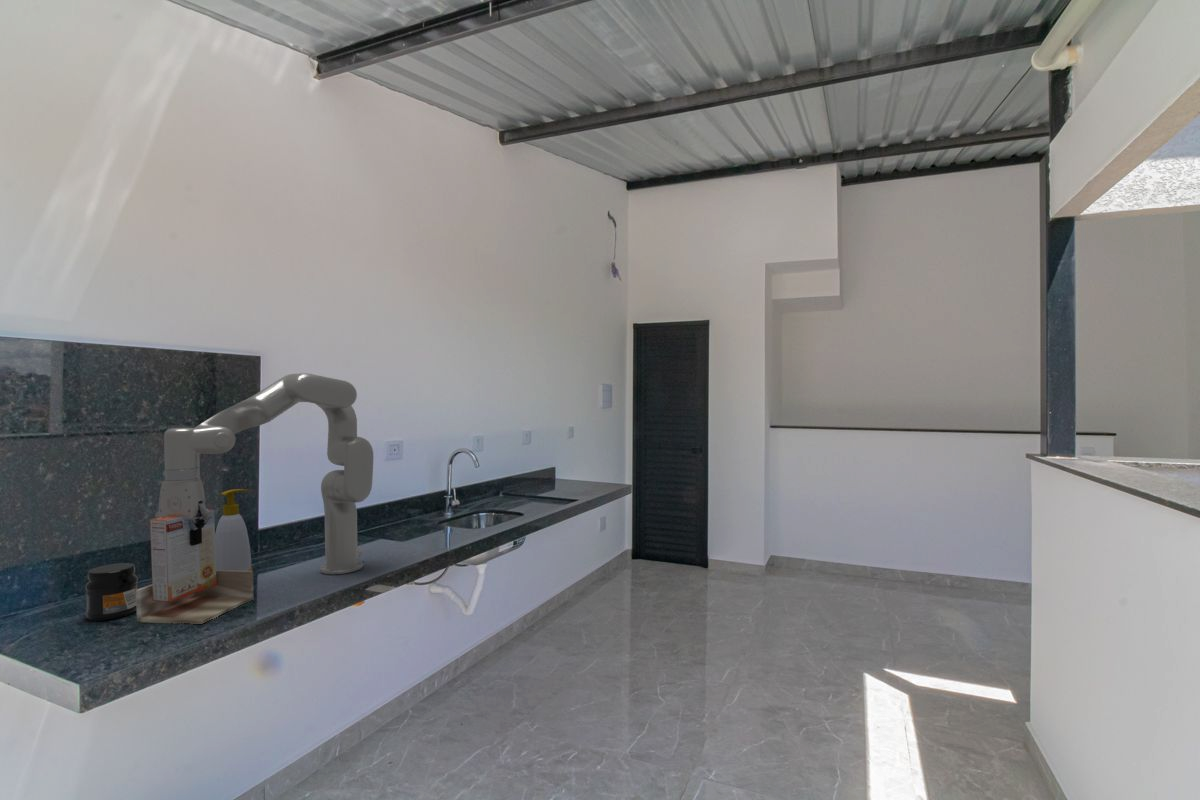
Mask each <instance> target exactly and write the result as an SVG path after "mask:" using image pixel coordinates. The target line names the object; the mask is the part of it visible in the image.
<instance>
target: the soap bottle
mask: <svg viewBox="0 0 1200 800" xmlns="http://www.w3.org/2000/svg"><path fill="white" fill-rule="evenodd" d="M238 492H246V493H249V494H252V492H253V491H251V490H249V489H243V488H237V489H236V488H235V489H228V490H225V491H223V492H220V495H221V496H223V497H226V504H223V505H222V516H220V518H219V521H218V523H217V526H216V528H215V549H216V570H243V571H254V569H253V567H252V557H251V556H252V555H251V554H252V553H251V544H250V538H249V533H248V529H247V525H246V522H245V521H244V517H243V516H242V515H241V514H240V508H239V506H240V504H239V503H235V493H238Z"/></svg>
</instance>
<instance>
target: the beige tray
mask: <svg viewBox="0 0 1200 800" xmlns="http://www.w3.org/2000/svg"><path fill="white" fill-rule="evenodd" d="M216 582H217V585H216V586H213V587H210V588H208V589H205V590H202V591H199V592H196V593H194V594H191V595H188V596H186V597H183V598H180V599H177V600H175V601H172V602H162V601H153V589H152V584H148V585H146V586H142V587H140V588H137V590H136V604H137V610H136V622H137V623H150V624H151V623H153V624H171V623H173V624H175V625H185V624H184V623H190V624H189V625H193V624H203V623H205V622H207V621H209V620H211V619H213V620H215V619H217V618H219V617H218V616H219V615H221V614H223V613H225V612H227V611H229V610H231V609H233V608H236V607H238V606H240V605H242V604H244V603H246V602H248V603H250V602H249V601H251V600H253V599H254V570H252V571H243V570H216ZM253 601H254V600H253ZM251 602H252V601H251ZM246 604H247V603H246ZM244 605H245V604H244ZM242 606H243V605H242ZM240 607H241V606H240ZM238 608H239V607H238ZM236 609H237V608H236ZM216 617H217V618H216ZM214 618H215V619H214ZM211 621H212V620H211ZM209 622H210V621H209ZM177 623H178V624H177ZM179 623H180V624H179ZM181 623H183V624H181ZM207 623H208V622H207ZM205 624H206V623H205ZM203 625H204V624H203Z"/></svg>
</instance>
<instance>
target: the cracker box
mask: <svg viewBox="0 0 1200 800" xmlns="http://www.w3.org/2000/svg"><path fill="white" fill-rule="evenodd" d="M208 510H209V511H210V512H211V513H212V517H211V518H210V519H209V520H208V522H207V523H206V524H205V525H204V528H202V543H200V544H197V545H194V546H191V545H190V530H193V529H192V527H191V525H190V522H189V520H184V519H183V517H180V516H165V517H160V518H157V517H155V518H152V519H149V529H150V530H149V532H150V553H151V554H150V557H151V583H152V589H153V601H162V602H172V601H175V600H177V599H180V598H183V597H186V596H188V595H191V594H194V593H196V592H199V591H202V590H205V589H208V588H210V587H213V586H216V585H217V582H216V549H215V533H216V527H215V526H216V525H215V509H208ZM196 517H197V515H196ZM202 517H203V516H202ZM202 517H201V518H202ZM195 522H196V523H197V520H195Z"/></svg>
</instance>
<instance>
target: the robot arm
mask: <svg viewBox="0 0 1200 800" xmlns="http://www.w3.org/2000/svg"><path fill="white" fill-rule="evenodd" d="M357 394H358V393H357V389H356V388H355V386H354V385H353V384H352V383H351V382H348V381H346V380H343V379H338V378H333V377H332V378H331V377H327V376H323V375H317V374H312V373H305V372H303V373H289V374H287V375H284V376H283V377H281V378H279V379H278V380H276V381H274V382H273V383H271V384H270V385H267V387H265V388H264V389H262V390H260V391H259V392H257V393H255V394H254V395H252V396H250V397H249V398H246V399H243V400H241V401H240V402H238V403H236V404H234V405H232V406H229V407H228V408H226V409H224V410H222V411H220V412H217V413H216V414H214V415H212V416H211V417H209V418H208V419H206V420H205V421H203V422H201V423H200V424H198V425H197V426H195V427H175V428H168V429H167V430H165V431H164V434H163V435H164V436H163V437H164V438H163V442H164V447H163V448H164V449H163V451H164V470H163V471H162V476H163V477H164V481H162V482H161V487H160V491H159V498H158V499H159V500H158V501H159V502H158V510H157V511H156V512H155V514H154V516H155V518H160V517H165V516H180V517H183V519H184V520H189V522H190V525H191V527H192V529H193V530H190V545H191V546H194V545H197V544H200V543H202V528H204V525H205V524H206V523H207V522H208V520H209V519H210V518H211V517H212V513H211V512H210V511H209V510H210V509H208V508H207V507H206V496H205V488H204V485H203V480H202V479H201V474H200V473H201V472H200V471H201V470H200V464H201V462H200V455H201V454H210V455H211V454H212V455H219V454H220V455H221V454H224V453H227V452H228V451H231V450H232V448H233V447H234V446H235V445H236V434H238V433H240V432H242V431H244V430H248V429H250V428H255V427H259V426H262V425H265V424H266V423H267V424H268V423H270V422H271V421H273V420H274V419H276V418H277V417H279V416H280V415H282V414H283V413H285V412H286V411H288V410H289V409H291V408H292V407H294V406H296V405H297V404H298V403H310V404H311V403H312V404H315V405H316V406H318V407H319V408H320V409H321V410H322V411H323V412H324V414H325V415H326V419H327V423H328V424H327V427H328V431H327V448H326V455H327V459H328V461H329V462H330V463H331V464H333V465H337V466H341V467H343V469H335V470H331V471H329V472H328V473H326V475H325V474H324V475H325V476H324V477H323V478H322V481H321V485H320V492H321V498H322V501H323V502H322V503H323V509H324V510H323V511H324V512H323V513H324V545H325V546H324V548H325V550H324V552H325V553H324V554H325V555H324V556H325V558H324V559H325V564H323V565H321V566H320V571H319V572H320V573H322V574H325V575H343V574H349V573H353V572H357V571H360V570H362V568H363V567H364V562H362V560H359V557H362V556H363V555H364V551H363V550H362V549H358V511H357V505H356V504H357V503H361V502H363V501H365V500H367V498H368V497H369V496H370V494H371V491H372V488H373V477H374V476H373V475H374V450H373V446H372V445H371V443H370V442H369V440H367V439H366V438H364V437H362V436H358V418H357V414H356V412H355V409H354V406H353V405H354V404H355V402H356V400H357V398H358V397H357V396H358V395H357ZM196 515H197V517H196ZM202 516H203V517H202ZM201 517H202V518H201ZM195 520H197V523H196V522H195Z"/></svg>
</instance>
